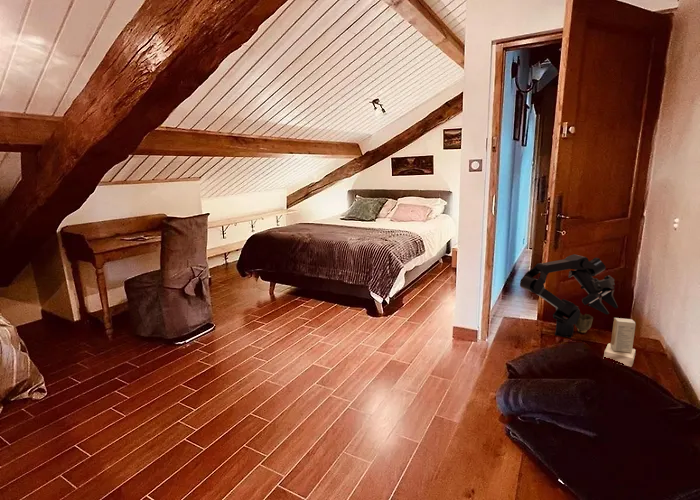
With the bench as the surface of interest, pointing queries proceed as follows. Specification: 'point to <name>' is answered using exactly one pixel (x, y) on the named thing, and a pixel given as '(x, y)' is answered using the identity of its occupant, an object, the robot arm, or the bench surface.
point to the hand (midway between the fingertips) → (612, 311)
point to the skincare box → (623, 335)
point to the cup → (584, 323)
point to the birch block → (620, 355)
